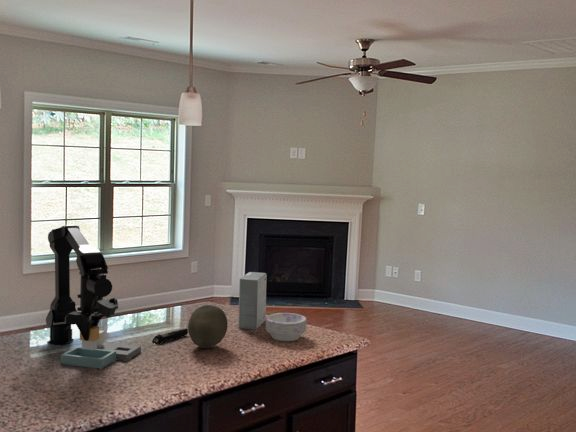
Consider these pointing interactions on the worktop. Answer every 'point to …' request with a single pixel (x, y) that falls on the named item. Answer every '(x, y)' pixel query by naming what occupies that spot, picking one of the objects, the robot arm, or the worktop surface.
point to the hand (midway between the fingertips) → (89, 339)
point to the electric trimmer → (170, 336)
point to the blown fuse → (91, 339)
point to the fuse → (101, 339)
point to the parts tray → (88, 357)
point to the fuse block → (121, 350)
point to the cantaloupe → (207, 326)
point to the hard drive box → (252, 300)
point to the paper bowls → (285, 326)
